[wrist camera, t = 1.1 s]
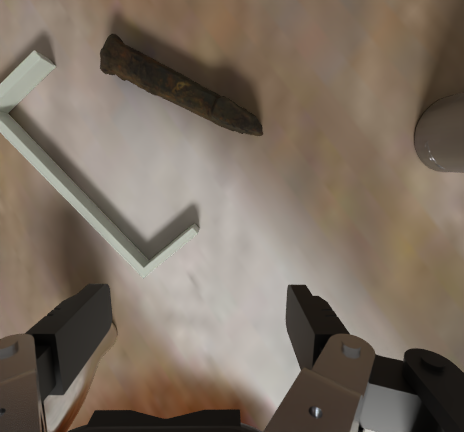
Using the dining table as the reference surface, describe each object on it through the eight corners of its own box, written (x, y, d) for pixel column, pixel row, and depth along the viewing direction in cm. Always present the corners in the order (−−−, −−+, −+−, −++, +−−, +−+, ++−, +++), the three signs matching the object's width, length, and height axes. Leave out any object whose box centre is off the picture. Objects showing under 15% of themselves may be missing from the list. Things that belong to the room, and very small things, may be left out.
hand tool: (108, 76, 31) (88, 62, 26) (122, 43, 30) (104, 22, 26) (249, 155, 33) (253, 154, 29) (265, 126, 33) (271, 120, 28)
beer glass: (72, 306, 36) (-30, 404, 22) (123, 314, 37) (57, 416, 22) (67, 350, 38) (-32, 471, 23) (117, 358, 38) (51, 481, 23)
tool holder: (49, 59, 30) (34, 50, 28) (199, 228, 35) (197, 233, 32) (-5, 112, 31) (-24, 107, 29) (148, 270, 36) (143, 278, 33)
